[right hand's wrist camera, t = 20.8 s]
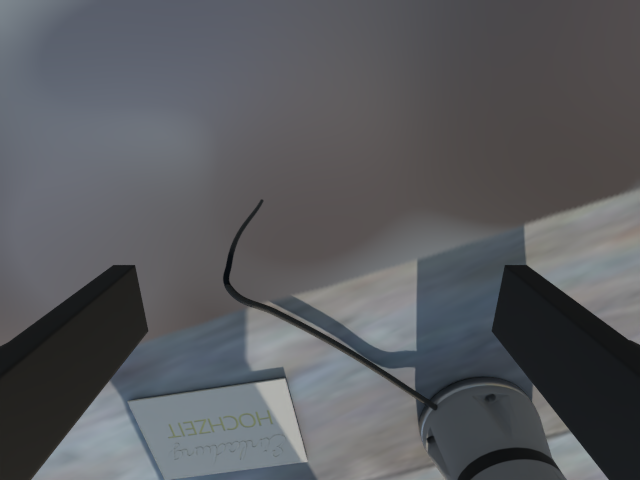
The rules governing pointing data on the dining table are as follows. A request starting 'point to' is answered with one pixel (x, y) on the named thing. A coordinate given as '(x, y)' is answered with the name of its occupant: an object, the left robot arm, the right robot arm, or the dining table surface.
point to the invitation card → (221, 429)
